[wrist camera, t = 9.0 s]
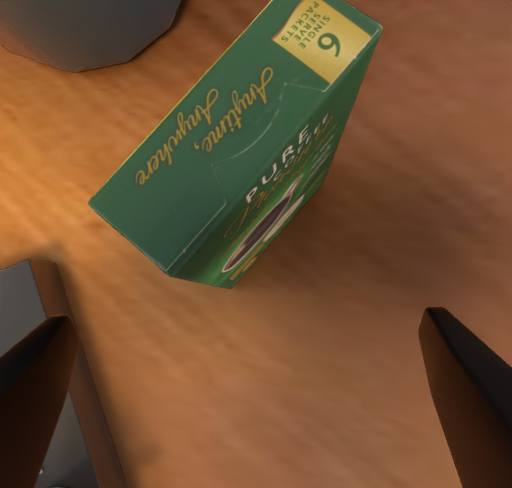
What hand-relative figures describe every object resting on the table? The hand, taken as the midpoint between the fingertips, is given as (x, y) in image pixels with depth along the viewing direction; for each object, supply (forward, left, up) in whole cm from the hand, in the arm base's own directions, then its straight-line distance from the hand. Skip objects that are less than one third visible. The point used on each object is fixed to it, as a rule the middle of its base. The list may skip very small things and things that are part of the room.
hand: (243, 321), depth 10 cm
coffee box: (+4, -2, -12) cm, 13 cm away
